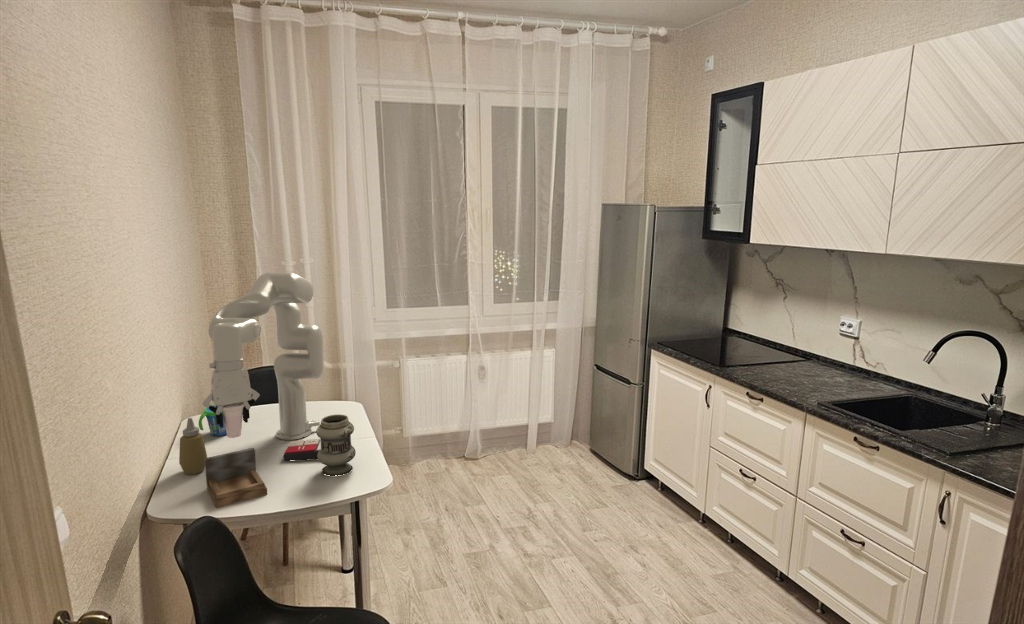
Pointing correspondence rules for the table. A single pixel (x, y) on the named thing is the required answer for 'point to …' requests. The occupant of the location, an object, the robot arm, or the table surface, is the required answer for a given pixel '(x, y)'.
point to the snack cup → (212, 423)
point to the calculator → (302, 450)
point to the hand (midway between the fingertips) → (233, 423)
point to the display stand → (233, 477)
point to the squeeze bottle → (192, 449)
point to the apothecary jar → (335, 444)
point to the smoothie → (233, 419)
